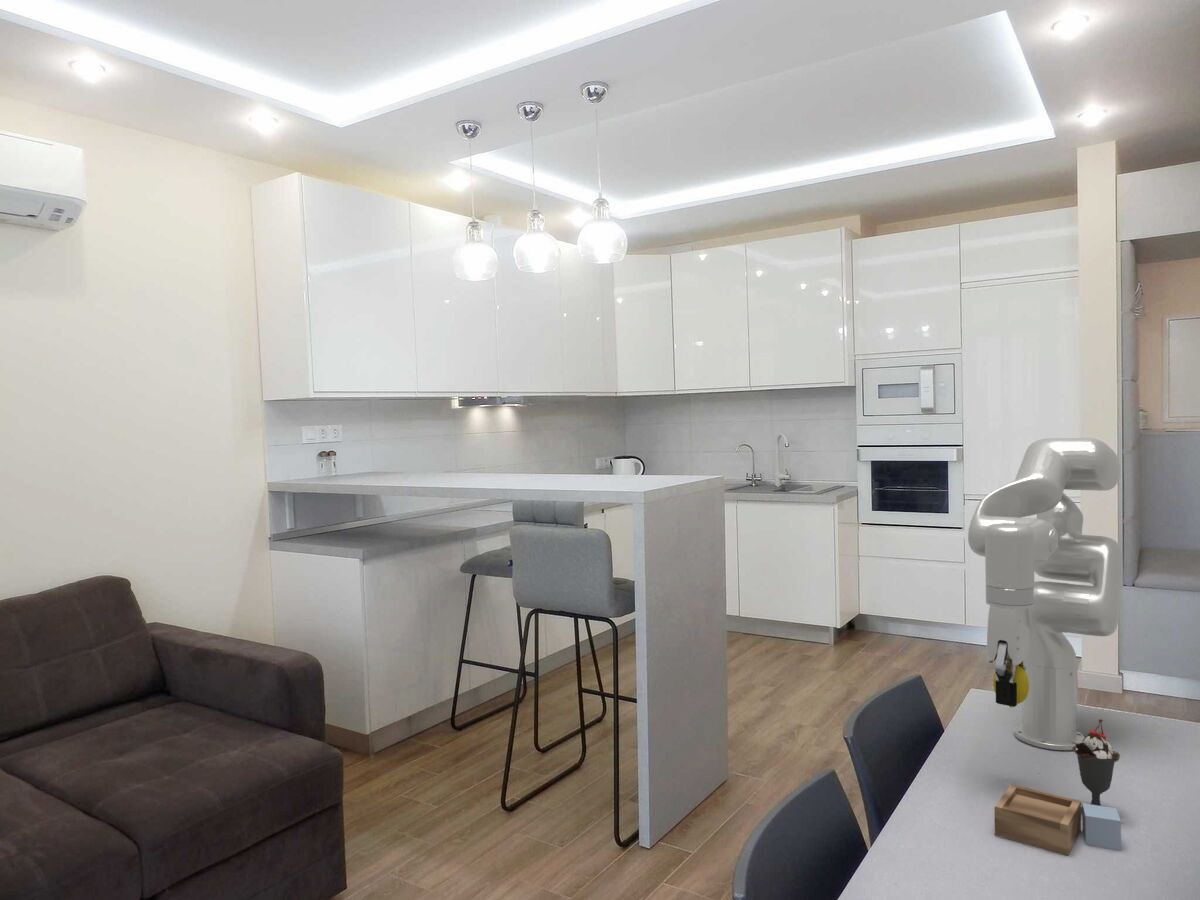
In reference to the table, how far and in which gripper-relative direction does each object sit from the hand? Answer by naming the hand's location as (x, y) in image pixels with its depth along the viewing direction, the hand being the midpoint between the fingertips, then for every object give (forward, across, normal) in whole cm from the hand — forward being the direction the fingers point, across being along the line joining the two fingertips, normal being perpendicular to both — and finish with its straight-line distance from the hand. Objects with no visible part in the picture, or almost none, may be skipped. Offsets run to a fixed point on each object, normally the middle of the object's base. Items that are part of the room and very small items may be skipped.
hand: (1011, 698), depth 142 cm
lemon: (+2, 0, 0) cm, 2 cm away
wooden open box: (+16, +14, +7) cm, 22 cm away
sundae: (+16, +2, +13) cm, 21 cm away
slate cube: (+16, +11, +15) cm, 24 cm away
